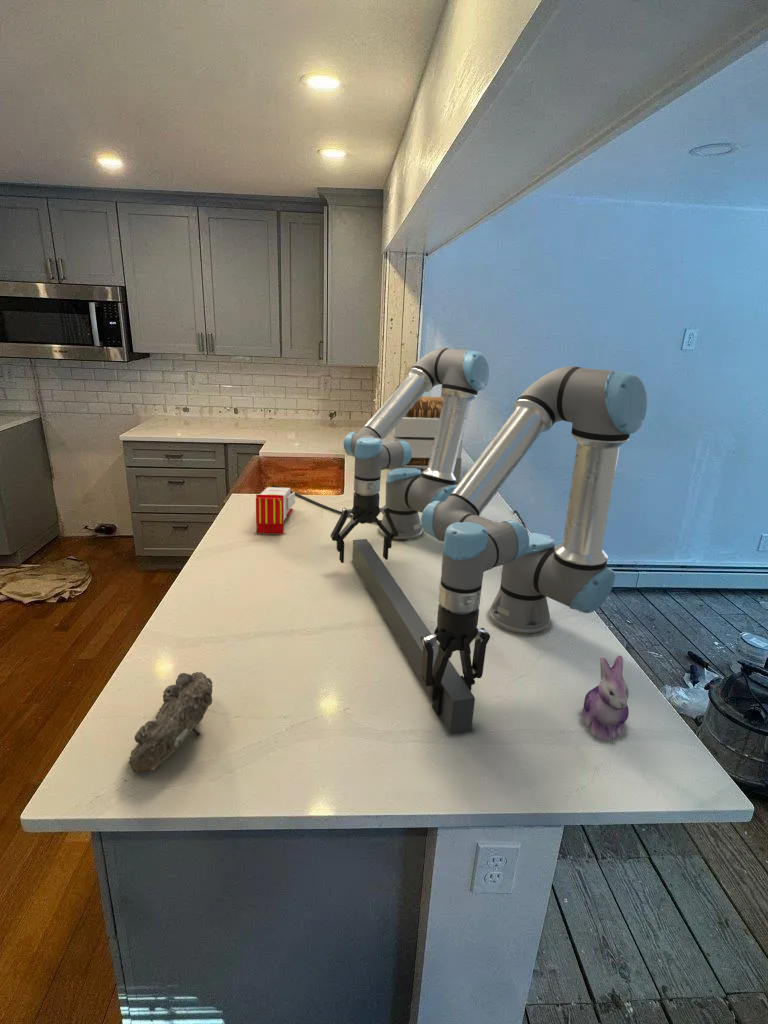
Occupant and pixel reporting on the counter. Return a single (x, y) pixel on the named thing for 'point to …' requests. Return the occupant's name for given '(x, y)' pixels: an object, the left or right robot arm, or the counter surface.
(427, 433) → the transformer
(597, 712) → the figurine
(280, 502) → the toy
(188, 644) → the counter surface
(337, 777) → the counter surface
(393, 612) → the bar
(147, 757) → the fossil
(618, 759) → the counter surface
